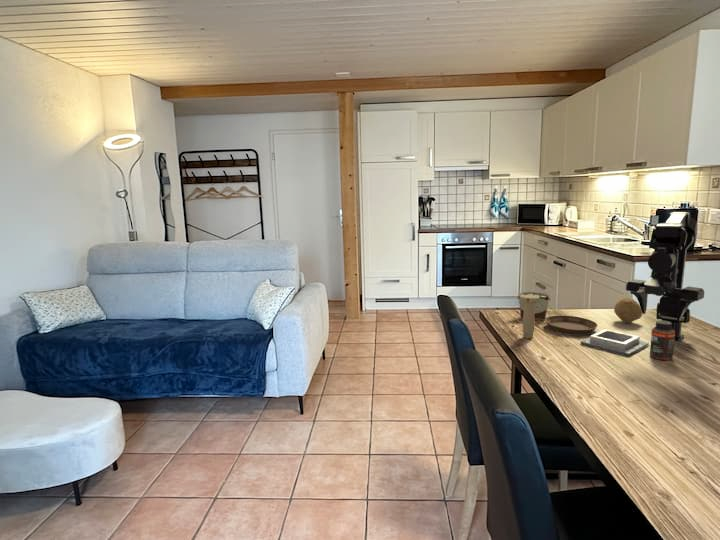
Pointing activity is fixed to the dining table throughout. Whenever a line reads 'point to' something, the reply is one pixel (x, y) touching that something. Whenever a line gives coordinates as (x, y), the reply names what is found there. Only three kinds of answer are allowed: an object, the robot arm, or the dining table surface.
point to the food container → (536, 305)
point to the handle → (528, 314)
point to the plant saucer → (571, 325)
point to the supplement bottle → (662, 341)
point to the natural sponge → (628, 310)
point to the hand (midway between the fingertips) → (660, 317)
